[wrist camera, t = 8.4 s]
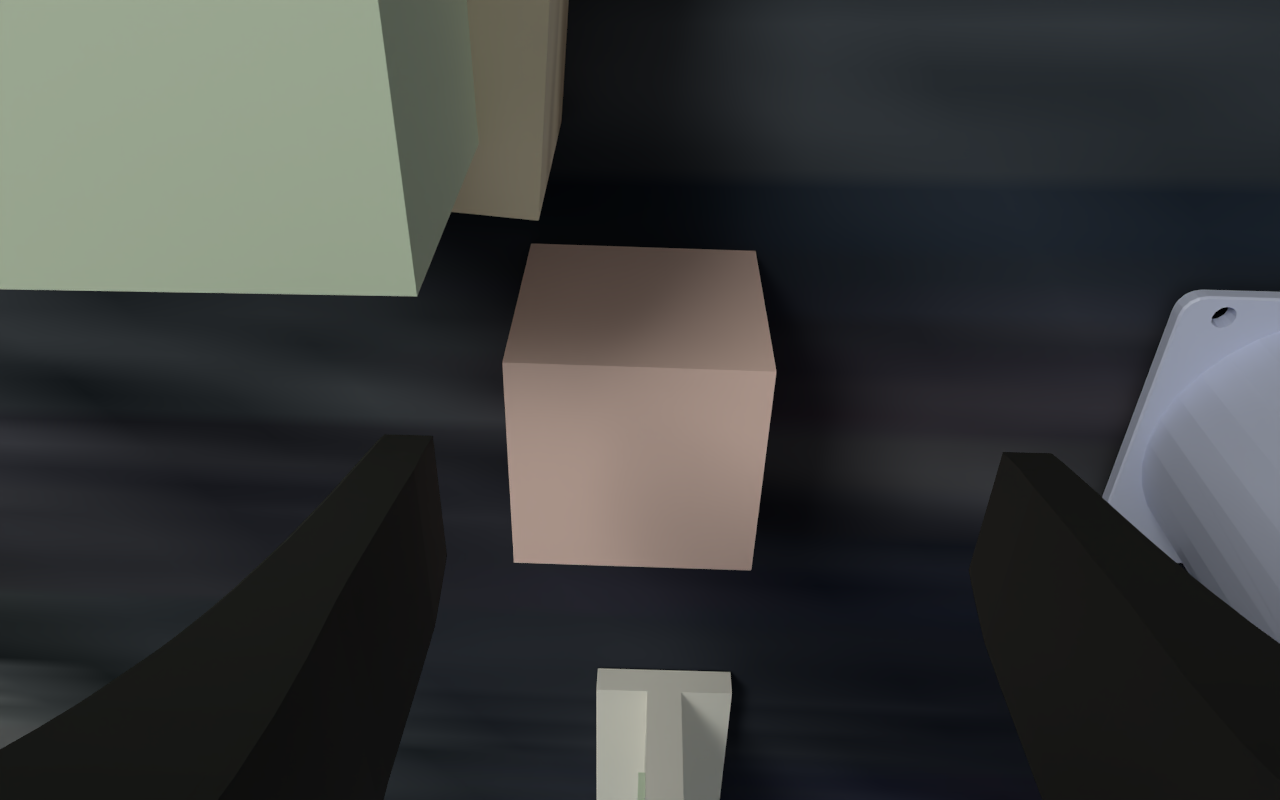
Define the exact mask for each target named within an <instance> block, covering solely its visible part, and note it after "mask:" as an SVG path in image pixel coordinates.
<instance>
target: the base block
mask: <svg viewBox="0 0 1280 800" xmlns="http://www.w3.org/2000/svg"><path fill="white" fill-rule="evenodd" d="M568 4H569V0H467V9H468V21H469V33H470V45H471V57H472V69H473V81H474V93H475V105H476V117H477V129H478V141H479V144H478V147H477V149H476V152H475V154H474V156H473V159H472V161H471V164H470V166H469V169H468V171H467V174H466V176H465V179H464V181H463V184H462V186H461V189H460V191H459V194H458V196H457V199H456V201H455V204H454V206H453V209H452V211H451V212H458V213H467V214H477V215H487V216H497V217H507V218H517V219H527V220H537V221H539V217H540V213H541V208H542V204H543V200H544V195H545V191H546V187H547V182H548V178H549V173H550V169H551V165H552V160H553V156H554V152H555V147H556V143H557V139H558V134H559V130H560V126H561V120H562V104H563V87H564V70H565V54H566V37H567V20H568Z"/></svg>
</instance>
